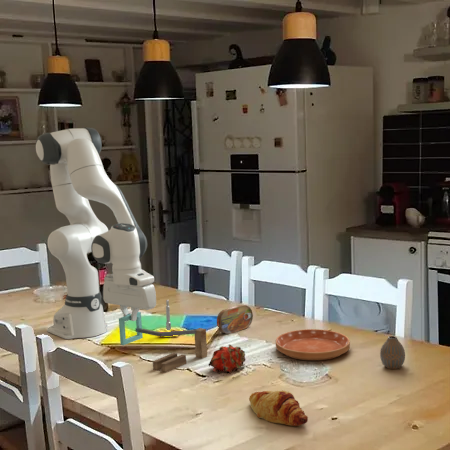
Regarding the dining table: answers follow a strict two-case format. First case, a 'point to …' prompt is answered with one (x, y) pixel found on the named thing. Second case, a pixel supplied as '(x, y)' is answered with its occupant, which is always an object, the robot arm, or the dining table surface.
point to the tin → (234, 319)
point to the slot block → (169, 362)
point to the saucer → (313, 344)
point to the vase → (392, 353)
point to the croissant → (278, 407)
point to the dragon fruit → (227, 359)
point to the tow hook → (168, 316)
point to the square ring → (122, 329)
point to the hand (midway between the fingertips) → (130, 319)
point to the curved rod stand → (199, 334)
